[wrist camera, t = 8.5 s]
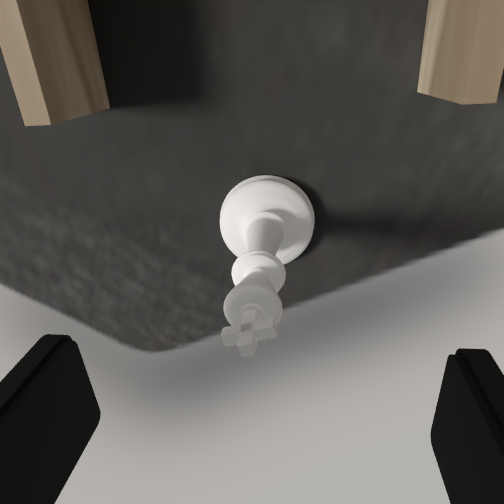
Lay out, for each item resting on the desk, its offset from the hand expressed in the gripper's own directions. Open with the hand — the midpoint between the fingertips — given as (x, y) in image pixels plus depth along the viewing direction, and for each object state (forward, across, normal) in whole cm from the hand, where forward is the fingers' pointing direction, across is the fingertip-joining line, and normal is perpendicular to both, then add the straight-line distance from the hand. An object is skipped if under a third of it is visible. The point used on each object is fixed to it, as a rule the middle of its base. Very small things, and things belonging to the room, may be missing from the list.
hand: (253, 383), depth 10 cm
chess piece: (+12, +1, 0) cm, 12 cm away
